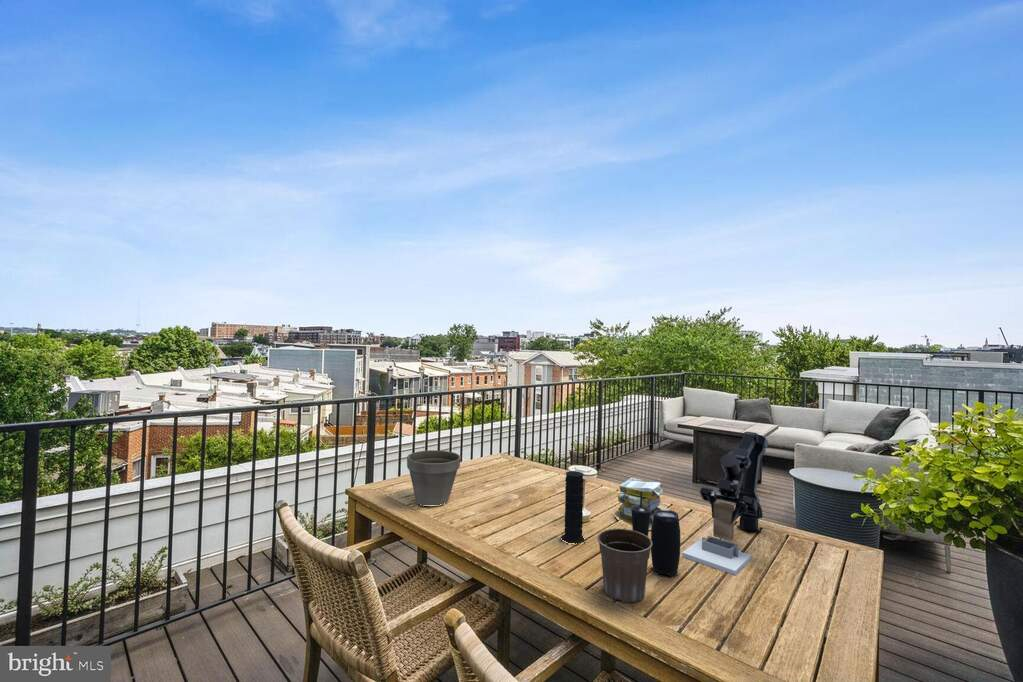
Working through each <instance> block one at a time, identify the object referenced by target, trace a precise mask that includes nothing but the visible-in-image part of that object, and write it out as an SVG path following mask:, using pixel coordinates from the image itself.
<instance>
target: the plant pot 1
mask: <svg viewBox="0 0 1023 682" xmlns="http://www.w3.org/2000/svg"><path fill="white" fill-rule="evenodd" d="M461 459H462V457H461V455H460V454H459V453H456V452H452V451H449V450H437V449H435V450H433V449H432V450H419V451H416V452H415V451H414V452H412V453H410V454H408V455H407V457H406V467H407V469H408V471H409V475H410V480H411V485H412V488H413V494H414V496H415V502H416V501H417V502H416V504H417V503H419V504H421V505H440V504H444V503H446V502H447V503H449V501H450V497H451V493H452V490H453V487H454V484H455V480H456V476H457V472H458V470H459V469H460V467H461ZM447 503H446V504H447Z"/></svg>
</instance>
